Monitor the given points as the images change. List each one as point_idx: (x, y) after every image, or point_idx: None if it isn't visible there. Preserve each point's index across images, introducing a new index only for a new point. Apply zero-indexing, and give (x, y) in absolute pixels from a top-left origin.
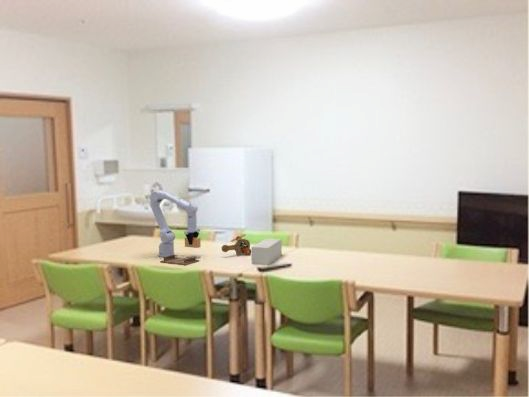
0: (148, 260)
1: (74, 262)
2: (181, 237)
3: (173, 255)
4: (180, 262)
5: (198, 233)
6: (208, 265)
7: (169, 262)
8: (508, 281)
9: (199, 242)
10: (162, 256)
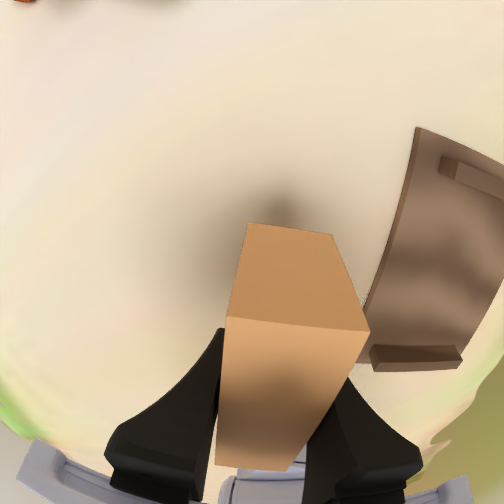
0: (400, 412)
1: (408, 479)
2: (11, 406)
3: (395, 360)
4: (502, 241)
5: (152, 446)
6: (497, 26)
7: (489, 305)
8: None
9: (272, 263)
10: None
